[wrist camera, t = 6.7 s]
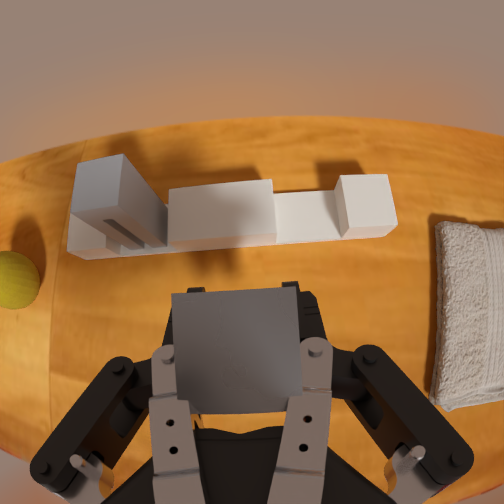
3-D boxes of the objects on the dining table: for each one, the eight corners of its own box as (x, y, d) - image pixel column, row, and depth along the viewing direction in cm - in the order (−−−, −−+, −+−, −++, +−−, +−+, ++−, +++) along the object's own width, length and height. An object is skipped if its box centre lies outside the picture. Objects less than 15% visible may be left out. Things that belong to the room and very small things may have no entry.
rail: (375, 190, 28) (417, 128, 18) (384, 236, 27) (437, 189, 17) (89, 216, 29) (26, 171, 19) (86, 259, 28) (16, 228, 18)
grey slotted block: (283, 367, 18) (303, 409, 8) (222, 370, 18) (178, 413, 8) (279, 307, 19) (295, 286, 9) (218, 311, 19) (171, 293, 9)
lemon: (25, 257, 29) (-25, 238, 21) (58, 265, 28) (7, 246, 20) (16, 306, 27) (-36, 296, 20) (49, 318, 27) (-5, 311, 19)
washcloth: (422, 410, 24) (437, 418, 21) (427, 223, 28) (442, 212, 25) (508, 394, 23) (526, 397, 20) (509, 233, 27) (525, 225, 24)
